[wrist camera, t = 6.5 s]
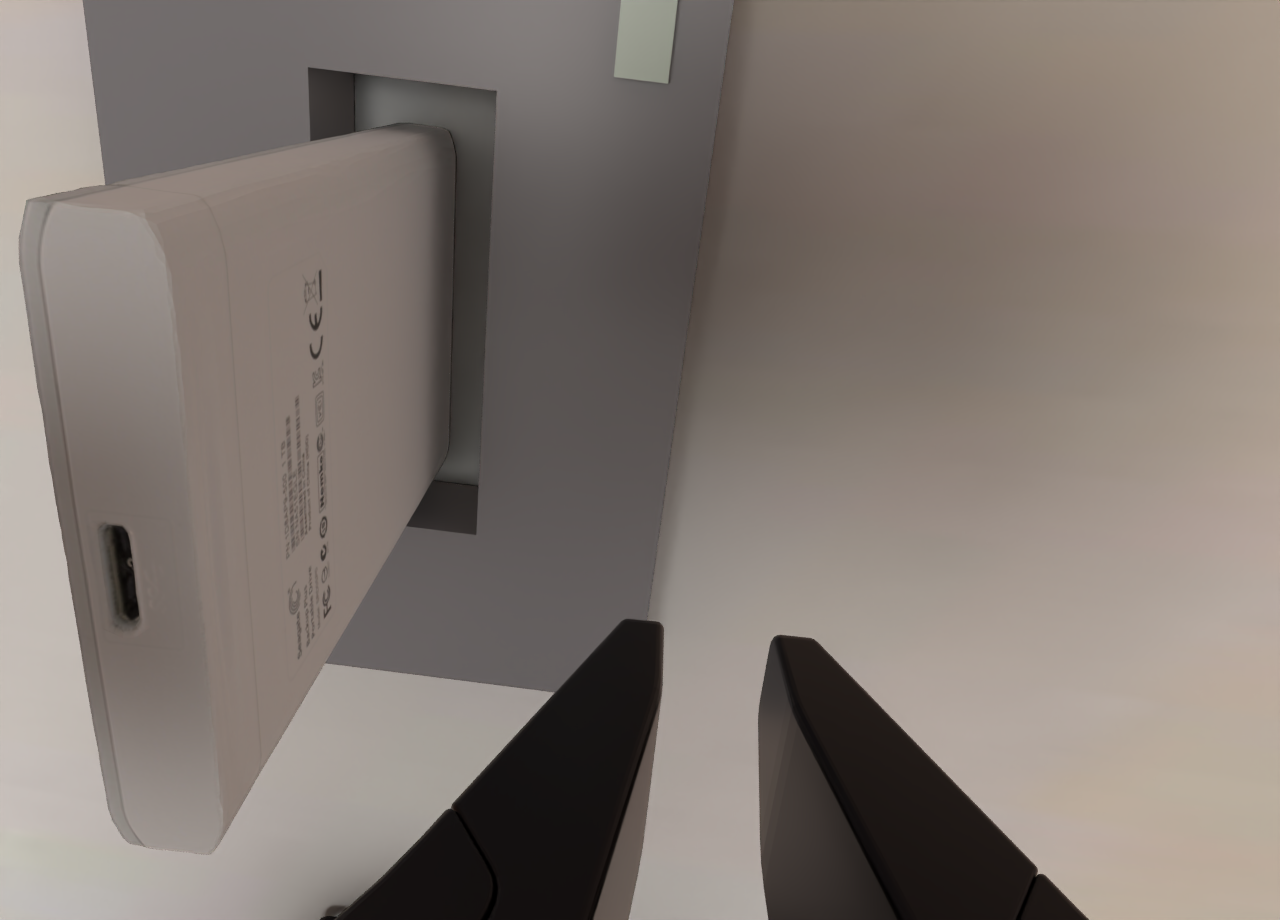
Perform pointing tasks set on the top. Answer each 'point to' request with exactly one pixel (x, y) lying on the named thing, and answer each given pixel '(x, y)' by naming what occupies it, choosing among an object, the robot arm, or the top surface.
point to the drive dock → (517, 278)
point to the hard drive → (235, 439)
